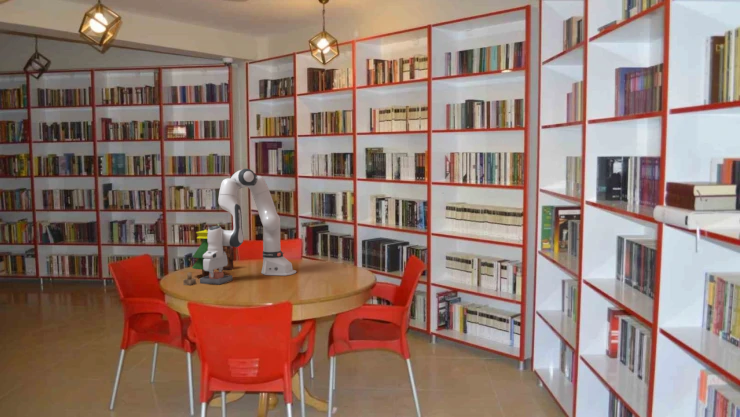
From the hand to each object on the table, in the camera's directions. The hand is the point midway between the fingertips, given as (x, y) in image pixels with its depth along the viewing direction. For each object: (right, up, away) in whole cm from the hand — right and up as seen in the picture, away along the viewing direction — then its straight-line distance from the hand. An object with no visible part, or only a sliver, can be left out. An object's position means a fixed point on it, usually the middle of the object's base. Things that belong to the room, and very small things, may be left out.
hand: (216, 275), depth 364 cm
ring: (0, -1, 0) cm, 1 cm away
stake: (-14, -4, -6) cm, 16 cm away
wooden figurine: (-4, 0, +40) cm, 40 cm away
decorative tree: (-10, -2, +18) cm, 20 cm away
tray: (0, -4, 0) cm, 4 cm away
